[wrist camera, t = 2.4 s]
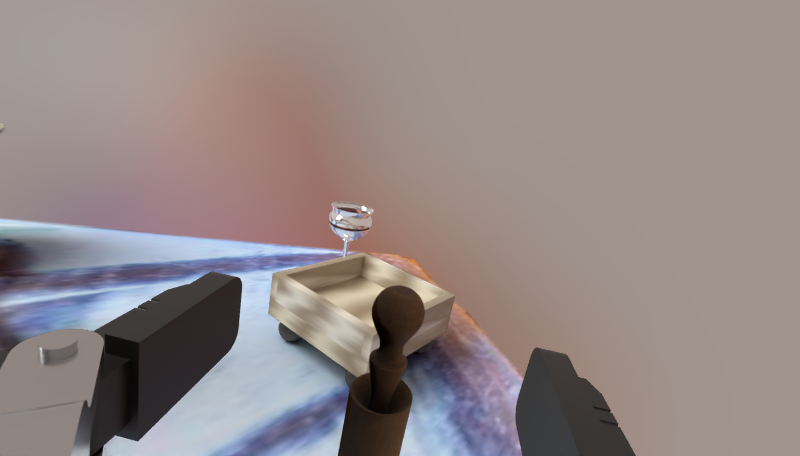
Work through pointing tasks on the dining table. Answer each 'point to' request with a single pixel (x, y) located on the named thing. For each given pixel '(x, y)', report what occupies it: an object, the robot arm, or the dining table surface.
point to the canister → (2, 127)
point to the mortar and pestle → (383, 379)
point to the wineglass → (350, 221)
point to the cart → (350, 308)
